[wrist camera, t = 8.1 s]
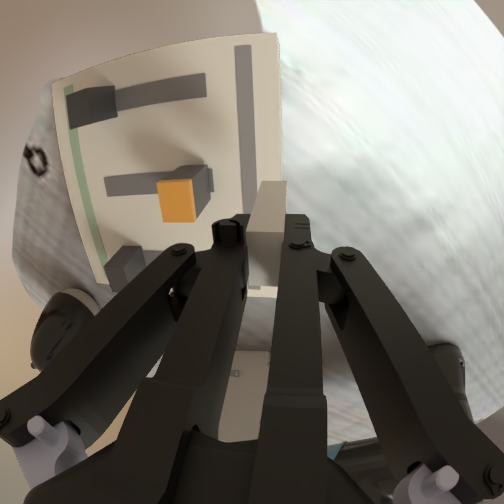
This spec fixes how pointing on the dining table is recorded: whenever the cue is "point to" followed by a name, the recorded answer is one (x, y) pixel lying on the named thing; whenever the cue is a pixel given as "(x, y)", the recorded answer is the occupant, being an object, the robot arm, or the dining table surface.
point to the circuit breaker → (244, 396)
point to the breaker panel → (168, 144)
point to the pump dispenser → (60, 324)
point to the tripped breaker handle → (184, 193)
